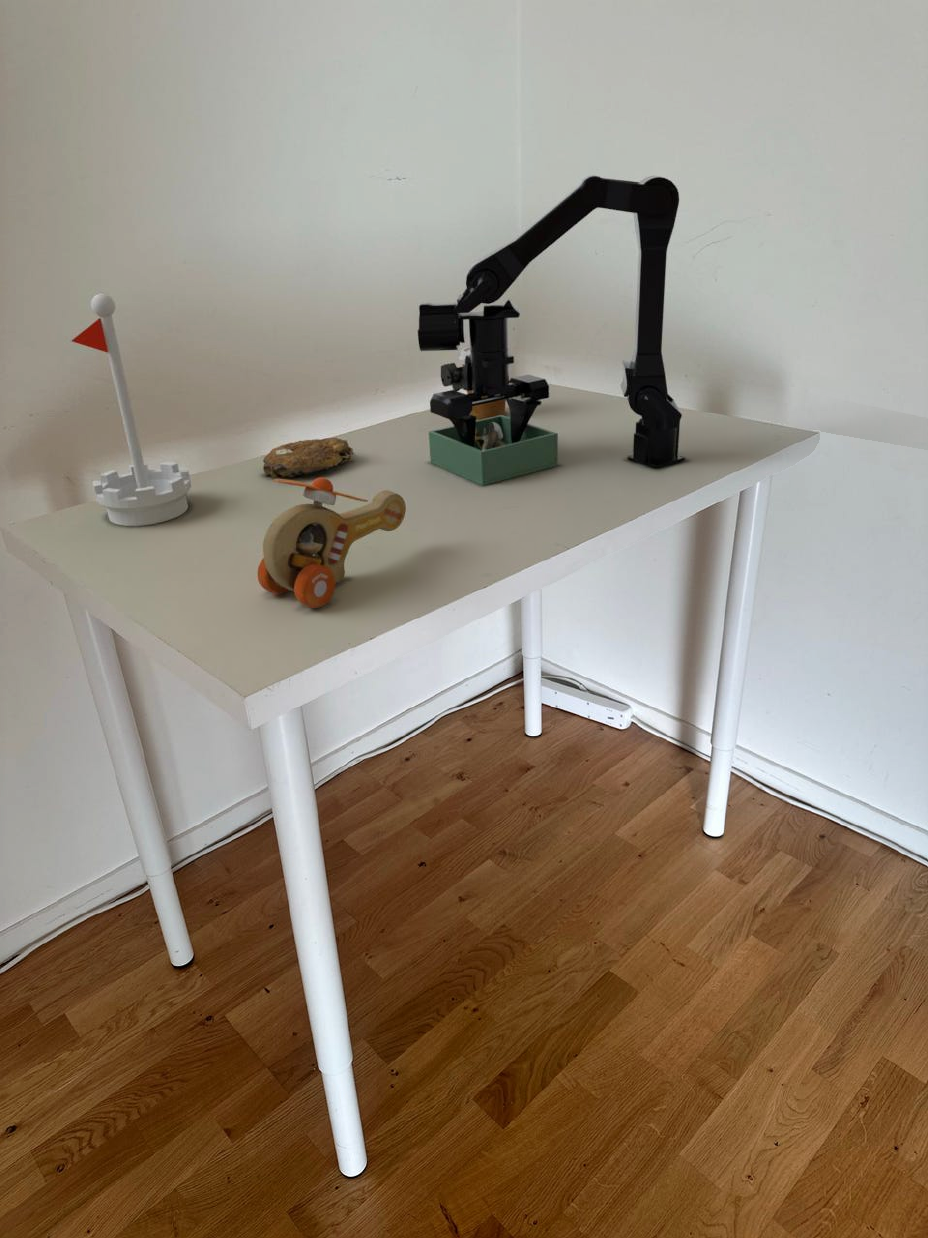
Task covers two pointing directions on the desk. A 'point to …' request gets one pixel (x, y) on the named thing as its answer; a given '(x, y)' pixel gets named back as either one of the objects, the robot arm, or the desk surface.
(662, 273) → the robot arm
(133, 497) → the flag stand
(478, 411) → the disposable coffee cup
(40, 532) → the desk surface
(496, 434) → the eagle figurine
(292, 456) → the decorative rock
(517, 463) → the bin
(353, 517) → the toy helicopter
